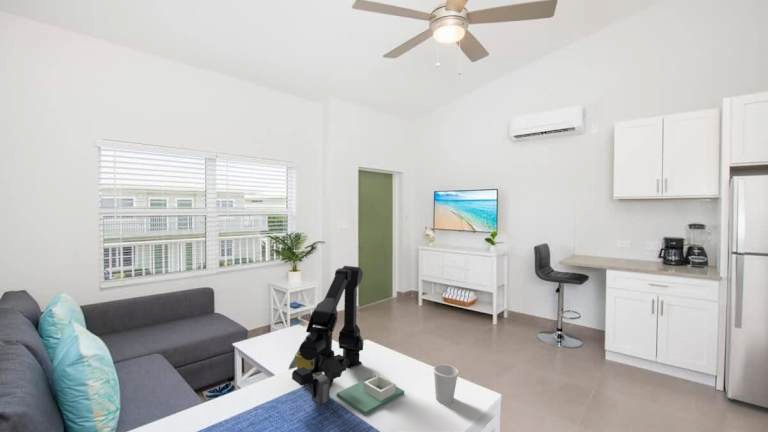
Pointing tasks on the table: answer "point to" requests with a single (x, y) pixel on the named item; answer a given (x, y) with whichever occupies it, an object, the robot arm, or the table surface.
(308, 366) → the flower pot
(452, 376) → the dixie cup
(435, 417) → the table surface
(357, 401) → the board
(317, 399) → the plug
